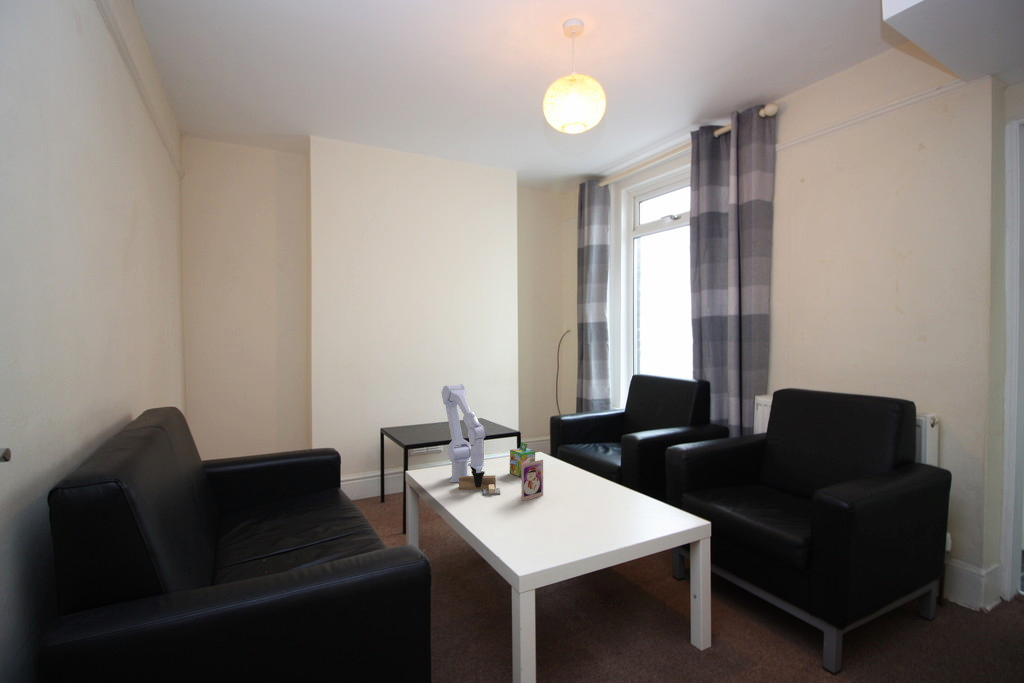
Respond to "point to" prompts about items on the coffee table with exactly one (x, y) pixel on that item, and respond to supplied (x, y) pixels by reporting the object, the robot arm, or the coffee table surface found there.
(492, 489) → the fulcrum
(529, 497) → the greeting card
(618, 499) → the coffee table surface
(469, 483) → the batten
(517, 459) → the chalk box
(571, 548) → the coffee table surface
